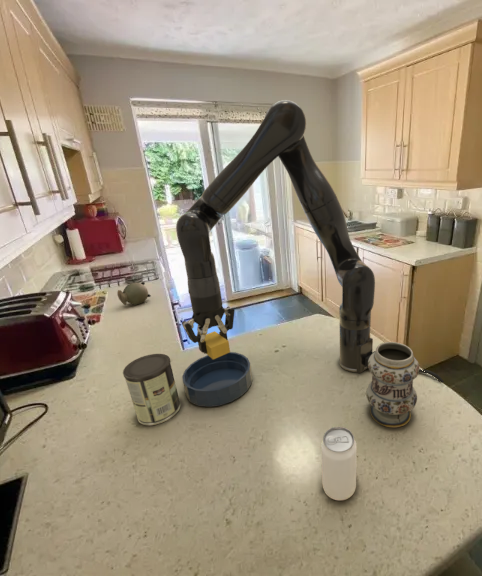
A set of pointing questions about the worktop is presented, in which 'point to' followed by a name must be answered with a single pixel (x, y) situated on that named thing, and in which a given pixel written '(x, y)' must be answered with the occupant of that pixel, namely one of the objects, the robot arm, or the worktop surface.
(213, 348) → the sponge
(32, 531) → the worktop surface
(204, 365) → the bowl
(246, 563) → the worktop surface
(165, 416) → the coffee can
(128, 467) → the worktop surface
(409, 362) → the apothecary jar
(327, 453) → the can
